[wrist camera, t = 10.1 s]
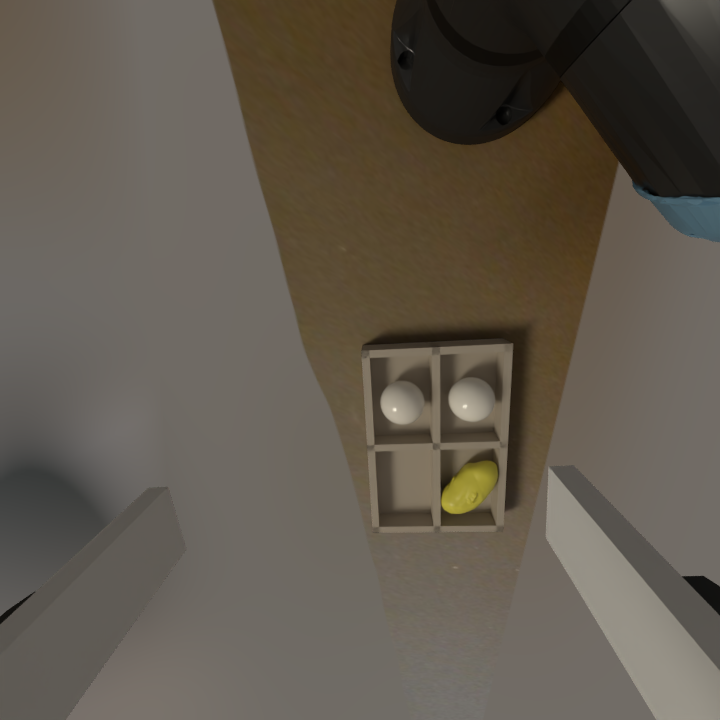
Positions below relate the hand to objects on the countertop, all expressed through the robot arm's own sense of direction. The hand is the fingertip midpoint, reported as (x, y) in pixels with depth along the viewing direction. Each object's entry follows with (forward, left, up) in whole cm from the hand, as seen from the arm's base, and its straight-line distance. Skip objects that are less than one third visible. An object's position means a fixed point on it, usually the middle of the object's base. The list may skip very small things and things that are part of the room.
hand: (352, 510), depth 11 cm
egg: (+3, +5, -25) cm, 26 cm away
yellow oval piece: (+9, +17, -25) cm, 32 cm away
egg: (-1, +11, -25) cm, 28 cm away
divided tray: (+6, +11, -26) cm, 29 cm away
